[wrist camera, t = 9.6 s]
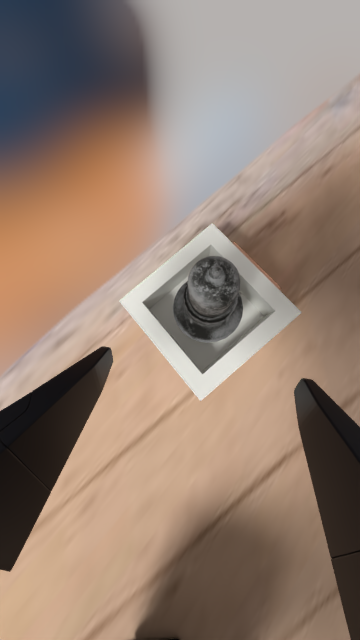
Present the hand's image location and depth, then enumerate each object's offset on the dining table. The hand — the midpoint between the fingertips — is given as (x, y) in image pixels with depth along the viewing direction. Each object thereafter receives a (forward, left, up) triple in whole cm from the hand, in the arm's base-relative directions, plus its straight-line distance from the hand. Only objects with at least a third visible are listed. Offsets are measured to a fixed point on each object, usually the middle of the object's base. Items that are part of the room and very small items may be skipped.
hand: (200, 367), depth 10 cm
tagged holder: (+4, -2, -12) cm, 13 cm away
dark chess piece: (+4, -2, -11) cm, 12 cm away
